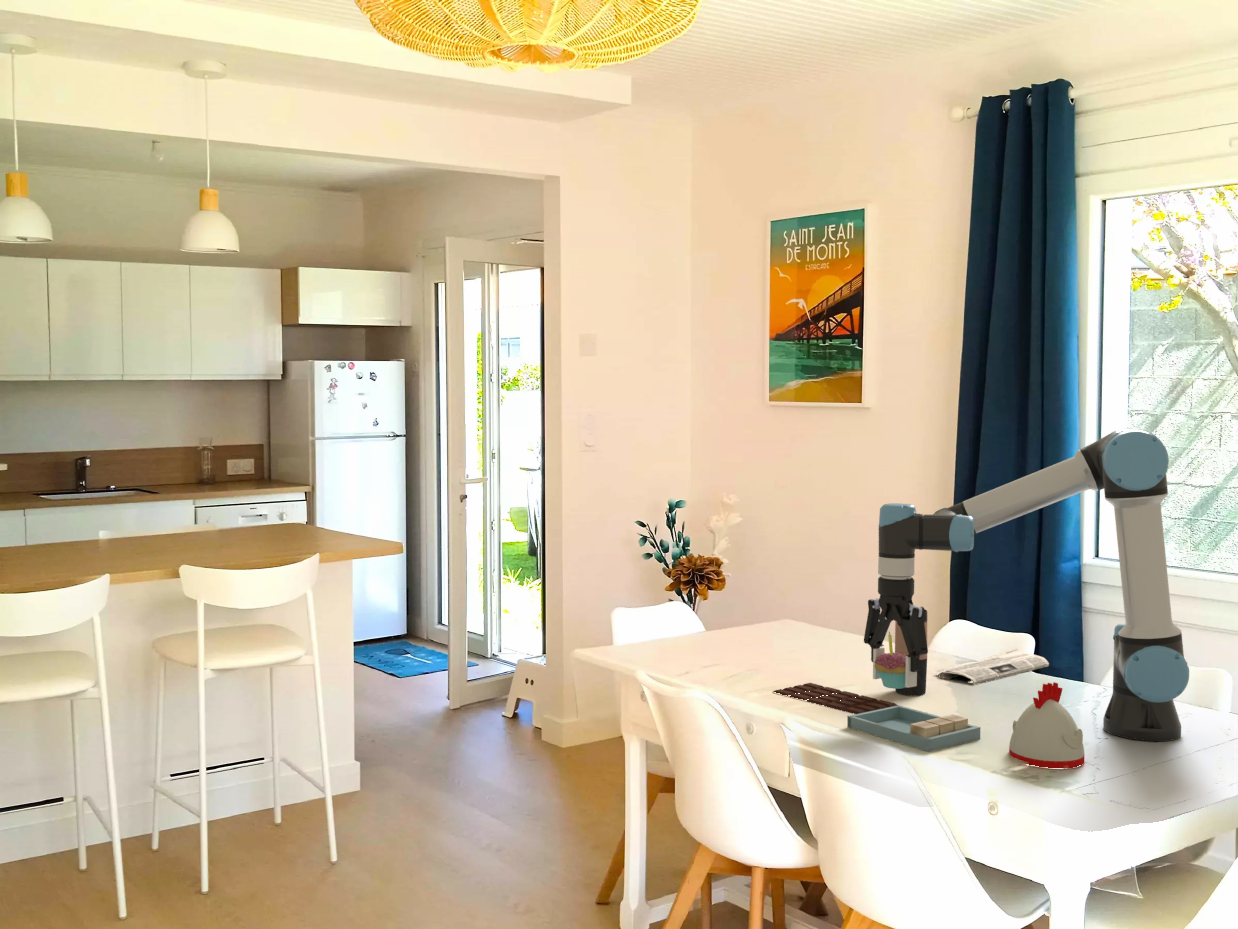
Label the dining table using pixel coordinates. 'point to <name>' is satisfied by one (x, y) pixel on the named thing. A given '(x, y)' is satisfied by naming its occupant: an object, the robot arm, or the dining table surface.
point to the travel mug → (921, 674)
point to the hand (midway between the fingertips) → (894, 682)
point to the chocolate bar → (835, 698)
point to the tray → (908, 728)
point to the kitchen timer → (1047, 733)
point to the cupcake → (892, 668)
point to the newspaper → (996, 666)
